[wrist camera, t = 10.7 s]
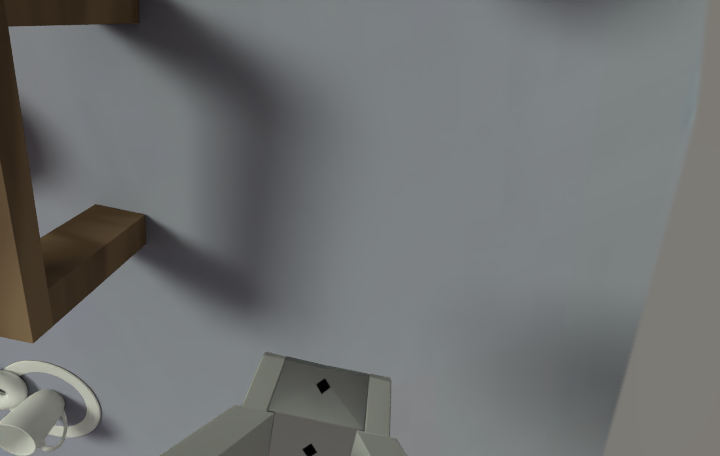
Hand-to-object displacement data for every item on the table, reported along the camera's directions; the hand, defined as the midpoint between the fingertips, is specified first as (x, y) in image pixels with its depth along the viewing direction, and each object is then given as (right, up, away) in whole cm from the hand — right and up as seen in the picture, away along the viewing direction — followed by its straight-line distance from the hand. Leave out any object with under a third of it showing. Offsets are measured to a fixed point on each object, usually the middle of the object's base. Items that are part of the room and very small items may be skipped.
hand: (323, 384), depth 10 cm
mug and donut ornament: (-23, -6, +23) cm, 33 cm away
